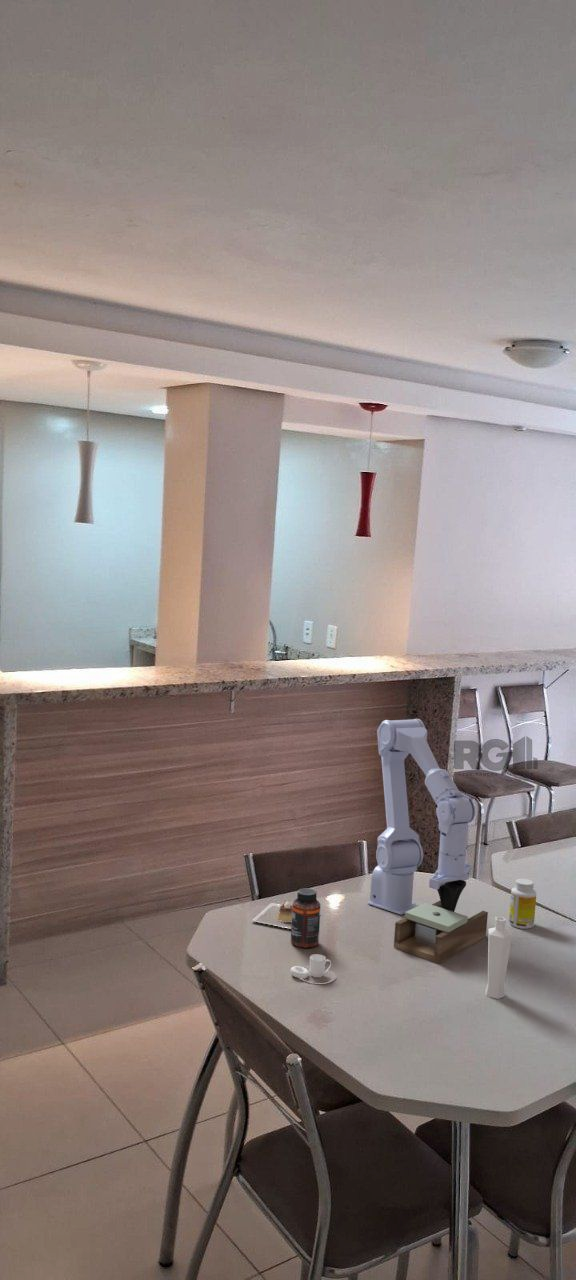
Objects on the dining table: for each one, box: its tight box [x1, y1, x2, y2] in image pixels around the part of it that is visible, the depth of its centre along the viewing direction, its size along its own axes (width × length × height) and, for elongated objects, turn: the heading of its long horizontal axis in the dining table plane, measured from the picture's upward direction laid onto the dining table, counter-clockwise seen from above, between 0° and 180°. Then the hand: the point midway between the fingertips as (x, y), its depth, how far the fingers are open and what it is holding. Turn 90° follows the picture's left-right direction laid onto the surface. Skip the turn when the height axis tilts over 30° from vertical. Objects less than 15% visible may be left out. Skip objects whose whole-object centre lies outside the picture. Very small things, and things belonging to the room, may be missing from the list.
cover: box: [404, 902, 468, 932], centre depth 212 cm, size 11×8×2 cm
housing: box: [393, 900, 489, 965], centre depth 215 cm, size 11×20×6 cm, turn 141°
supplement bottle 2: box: [508, 878, 537, 930], centre depth 226 cm, size 6×6×10 cm
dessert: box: [251, 899, 292, 930], centre depth 223 cm, size 12×12×5 cm
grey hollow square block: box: [415, 922, 444, 948], centre depth 212 cm, size 5×5×4 cm
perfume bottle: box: [484, 916, 513, 1000], centre depth 191 cm, size 5×4×15 cm
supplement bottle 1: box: [290, 887, 321, 949], centre depth 210 cm, size 6×6×11 cm
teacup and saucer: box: [289, 953, 332, 979], centre depth 195 cm, size 9×8×4 cm
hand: (448, 913), depth 216 cm, fingers closed
